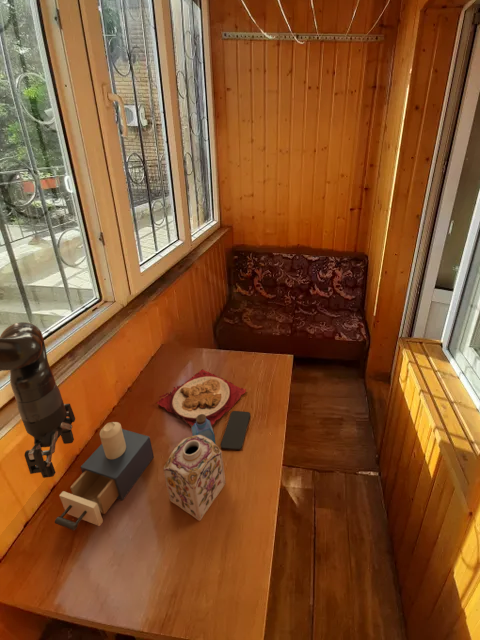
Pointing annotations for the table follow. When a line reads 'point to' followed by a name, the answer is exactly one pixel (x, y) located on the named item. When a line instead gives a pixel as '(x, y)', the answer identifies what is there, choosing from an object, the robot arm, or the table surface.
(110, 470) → the cabinet
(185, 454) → the decorative jar
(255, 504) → the table surface
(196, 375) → the plate with food
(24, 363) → the robot arm
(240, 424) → the phone
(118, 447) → the candle
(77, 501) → the drawer
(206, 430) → the perfume bottle
